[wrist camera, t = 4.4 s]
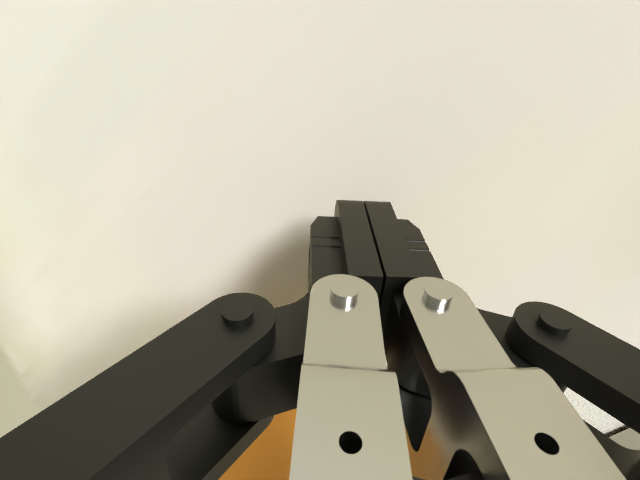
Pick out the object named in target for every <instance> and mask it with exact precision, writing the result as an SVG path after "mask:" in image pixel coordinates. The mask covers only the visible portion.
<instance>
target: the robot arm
mask: <svg viewBox="0 0 640 480" xmlns="http://www.w3.org/2000/svg"><path fill="white" fill-rule="evenodd" d="M385 356H386V358H385ZM386 360H387V366H386ZM567 387H568V388H570V389H571V390H573V391H574V392H576V393H577V394H579V395H581V396H582V397H584V398H585V399H587V400H588V401H590V402H591V403H593V404H594V405H596V406H597V407H599V408H600V409H602V410H604V411H605V412H607V413H608V414H610V415H611V416H613V417H614V418H616V419H617V420H619V421H620V422H622V423H623V424H625V425H627V426H628V427H630V428H628V429H626V430H624V431H622V432H619V433H617V434H615V435H612V436H610V437H607V436H606V435H604V434H603V433H601V432H600V431H599V430H597V429H596V428H594V427H593V426H591V425H590V424H588V423H587V422H585V421H584V420H583V419H582V418H581V417H580V416H579V414H578V413H577V411H576V410H575V409H574V407H573V406H572V405H571V403H570V402H569V401H568V399H567V398H566V396H565V395H564V394H563V393H564V391H565V390H566V388H567ZM296 408H297V411H296V420H295V429H294V439H293V448H292V457H291V467H290V476H289V480H640V350H639V349H638V348H636V347H634V346H632V345H630V344H628V343H626V342H624V341H623V340H621V339H619V338H617V337H615V336H613V335H611V334H609V333H608V332H606V331H604V330H602V329H600V328H598V327H596V326H594V325H593V324H591V323H589V322H587V321H585V320H583V319H581V318H579V317H578V316H576V315H574V314H572V313H570V312H568V311H566V310H564V309H562V308H560V307H557V306H555V305H551V304H548V303H543V302H526V303H523V304H521V305H519V306H518V307H517V308H516V310H515V312H514V314H513V317H508V316H504V315H500V314H496V313H492V312H488V311H484V310H481V309H478V308H476V307H475V305H474V304H473V302H472V301H471V299H470V297H469V296H468V295H467V293H466V292H465V291H464V290H463V289H461V288H460V287H459V286H457V285H455V284H454V283H451V282H449V281H447V280H444V279H443V277H442V275H441V273H440V271H439V269H438V267H437V264H436V262H435V260H434V258H433V256H432V254H431V252H429V248H428V246H427V244H426V242H425V240H424V238H423V236H422V234H421V232H420V229H418V228H417V227H416V226H415V225H413V224H412V223H411V222H410V221H409V220H403V219H397V218H396V215H395V213H394V210H393V208H392V205H391V203H390V202H375V201H364V202H363V201H349V200H337V201H336V206H335V216H334V217H322V216H318V217H317V218H316V219H315V221H314V222H313V223H312V224H311V230H310V248H309V267H308V293H307V294H306V295H305V296H304V297H303V298H302V299H300V300H299V301H297V302H295V303H292V304H290V305H286V306H282V307H277V308H273V306H272V305H271V304H270V303H269V302H268V301H267V300H266V299H264V298H262V297H260V296H258V295H255V294H250V293H234V294H228V295H225V296H222V297H220V298H217V299H216V300H214V301H212V302H211V303H209V304H208V305H206V306H204V307H203V308H201V309H200V310H198V311H197V312H195V313H194V314H192V315H190V316H189V317H187V318H186V319H184V320H183V321H181V322H180V323H178V324H176V325H175V326H173V327H172V328H170V329H169V330H167V331H166V332H164V333H163V334H161V335H159V336H158V337H156V338H155V339H153V340H152V341H150V342H149V343H147V344H145V345H144V346H142V347H141V348H139V349H138V350H136V351H135V352H133V353H131V354H130V355H128V356H127V357H125V358H124V359H122V360H121V361H119V362H117V363H116V364H114V365H113V366H111V367H110V368H108V369H107V370H105V371H104V372H102V373H100V374H99V375H97V376H96V377H94V378H93V379H91V380H90V381H88V382H86V383H85V384H83V385H82V386H80V387H79V388H77V389H76V390H74V391H72V392H71V393H69V394H68V395H66V396H65V397H63V398H62V399H60V400H59V401H57V402H55V403H54V404H52V405H51V406H49V407H48V408H46V409H45V410H43V411H41V412H40V413H38V414H37V415H35V416H34V417H32V418H31V419H29V420H27V421H26V422H24V423H23V424H21V425H20V426H18V427H17V428H15V429H14V430H12V431H11V432H9V433H7V434H6V435H4V436H3V437H1V438H0V480H218V479H219V478H220V477H221V476H222V475H223V474H224V473H225V472H226V471H227V470H228V469H229V468H230V466H231V465H232V464H233V463H234V462H235V461H236V460H237V459H238V458H239V457H240V456H241V455H242V454H243V453H244V451H245V450H246V449H247V448H248V447H249V446H250V445H251V444H252V443H253V442H254V441H255V440H256V439H257V438H258V437H259V435H260V434H261V433H262V432H263V431H264V430H265V429H266V428H267V427H268V426H269V424H270V423H271V422H272V420H273V418H274V415H277V414H280V413H283V412H286V411H289V410H293V409H296Z"/></svg>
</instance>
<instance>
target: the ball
mask: <svg viewBox="0 0 640 480" xmlns="http://www.w3.org/2000/svg"><path fill="white" fill-rule="evenodd" d="M296 411H297V408H296V409H293V410H289V411H286V412H283V413H280V414H277V415H274V418H273V420H272V422H271V423H270V424H269V426H268V427H267V428H266V429H265V430H264V431H263V432H262V433H261V434H260V435H259V437H258V438H257V439H256V440H255V441H254V442H253V443H252V444H251V445H250V446H249V447H248V448H247V449H246V450H245V451H244V453H243V454H242V455H241V456H240V457H239V458H238V459H237V460H236V461H235V462H234V463H233V464H232V465H231V466H230V468H229V469H228V470H227V471H226V472H225V473H224V474H223V475H222V476H221V477H220V478H219V479H218V480H289V476H290V467H291V457H292V448H293V439H294V429H295V420H296Z"/></svg>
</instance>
